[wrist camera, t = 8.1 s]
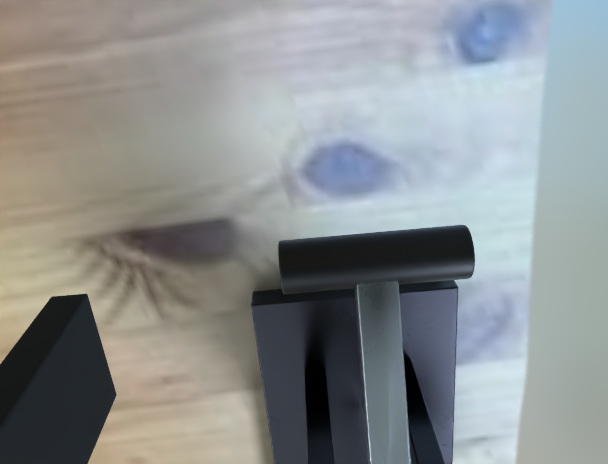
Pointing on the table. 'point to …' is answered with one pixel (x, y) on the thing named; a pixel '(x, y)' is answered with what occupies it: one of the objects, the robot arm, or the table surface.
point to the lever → (379, 308)
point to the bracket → (352, 373)
